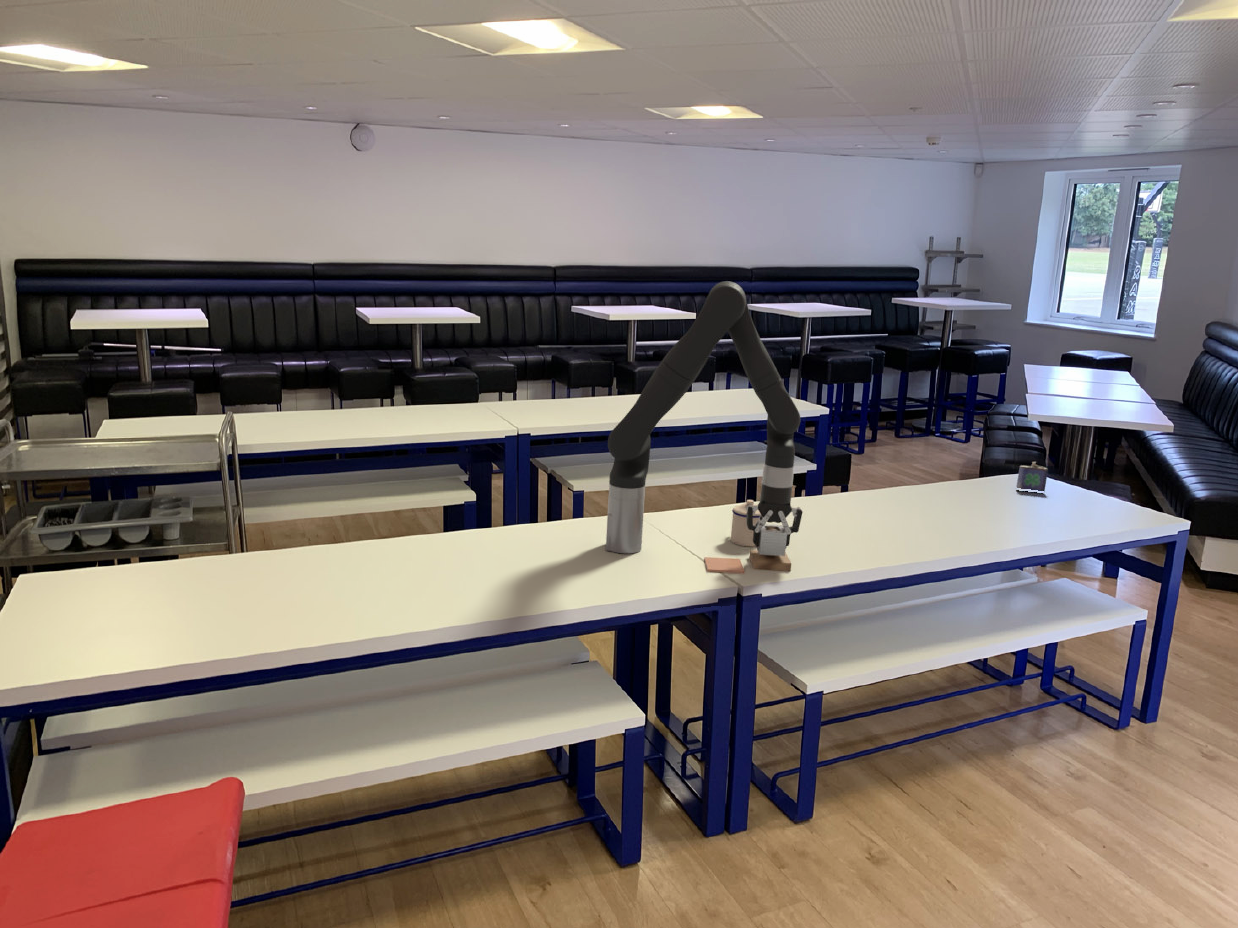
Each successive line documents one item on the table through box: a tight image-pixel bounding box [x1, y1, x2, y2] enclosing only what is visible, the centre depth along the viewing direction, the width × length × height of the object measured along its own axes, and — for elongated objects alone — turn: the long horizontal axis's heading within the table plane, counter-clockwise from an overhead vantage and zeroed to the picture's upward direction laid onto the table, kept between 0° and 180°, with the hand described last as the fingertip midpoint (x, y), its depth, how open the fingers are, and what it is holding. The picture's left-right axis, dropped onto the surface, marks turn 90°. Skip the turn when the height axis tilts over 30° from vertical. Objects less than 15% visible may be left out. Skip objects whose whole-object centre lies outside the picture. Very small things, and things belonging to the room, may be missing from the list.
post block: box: [749, 529, 792, 572], centre depth 233 cm, size 9×9×9 cm
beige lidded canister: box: [730, 499, 763, 548], centre depth 251 cm, size 12×9×12 cm
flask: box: [1016, 461, 1049, 492], centre depth 321 cm, size 9×3×11 cm, turn 75°
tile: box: [703, 556, 745, 574], centre depth 231 cm, size 9×9×1 cm
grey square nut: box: [755, 523, 787, 556], centre depth 233 cm, size 6×6×6 cm
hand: (770, 546), depth 233 cm, fingers closed on grey square nut, 6 cm apart
